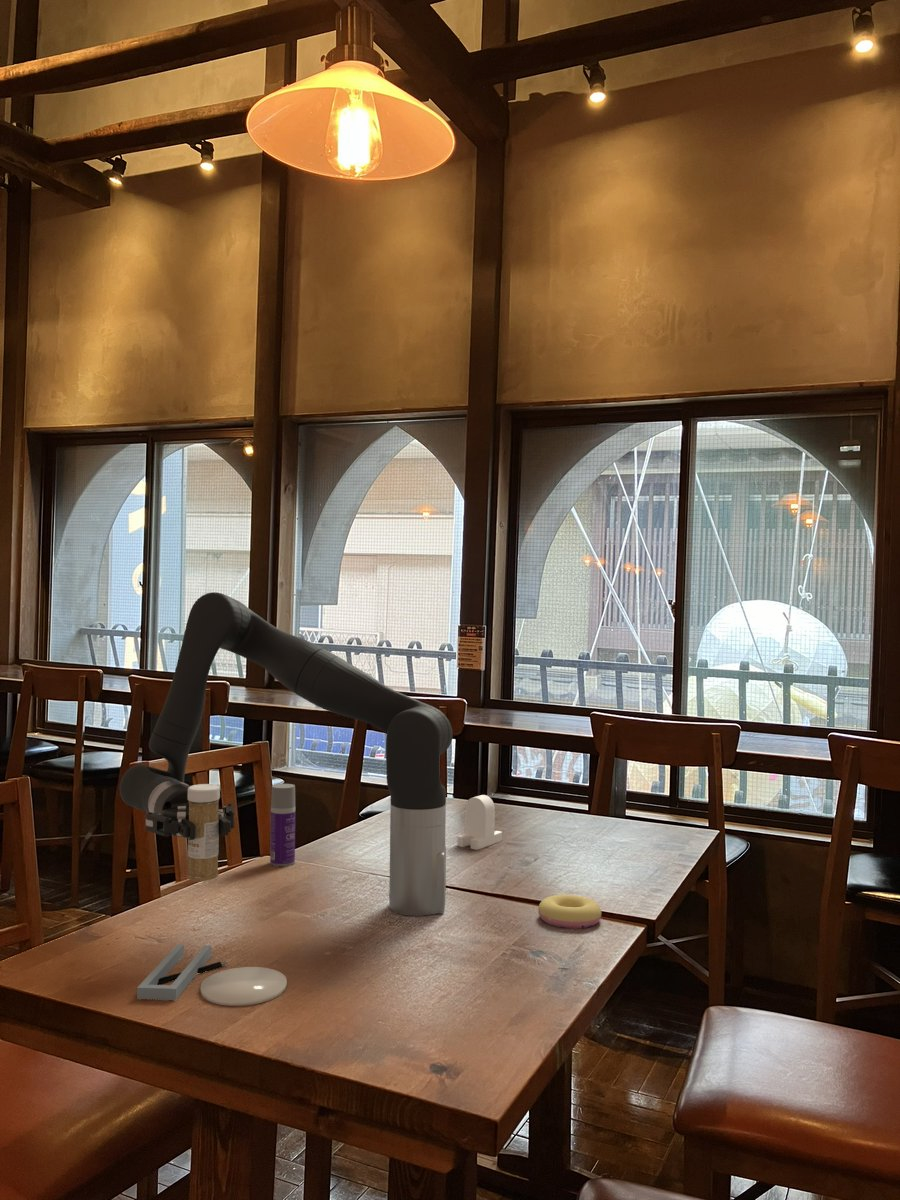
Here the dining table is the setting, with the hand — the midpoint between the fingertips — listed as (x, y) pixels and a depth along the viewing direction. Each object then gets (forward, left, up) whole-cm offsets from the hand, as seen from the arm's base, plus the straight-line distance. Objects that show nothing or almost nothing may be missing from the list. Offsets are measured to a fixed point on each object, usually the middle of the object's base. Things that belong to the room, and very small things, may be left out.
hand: (209, 830), depth 134 cm
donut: (-53, -18, -18) cm, 59 cm away
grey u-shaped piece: (+2, +8, -18) cm, 19 cm away
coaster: (-8, +12, -18) cm, 23 cm away
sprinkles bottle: (+2, -2, -8) cm, 8 cm away
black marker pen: (+1, +8, -18) cm, 20 cm away
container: (0, -46, -18) cm, 50 cm away
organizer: (-38, -65, -18) cm, 78 cm away
